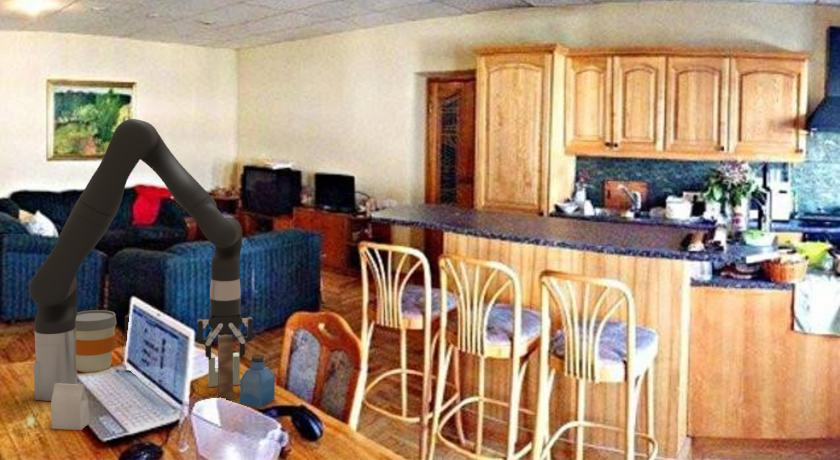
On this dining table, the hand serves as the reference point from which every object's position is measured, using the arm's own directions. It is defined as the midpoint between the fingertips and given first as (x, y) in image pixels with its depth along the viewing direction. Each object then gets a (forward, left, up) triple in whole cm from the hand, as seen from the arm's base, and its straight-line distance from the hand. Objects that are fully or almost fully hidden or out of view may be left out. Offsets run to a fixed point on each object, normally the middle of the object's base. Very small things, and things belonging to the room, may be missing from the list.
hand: (225, 357), depth 187 cm
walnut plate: (0, 0, -10) cm, 10 cm away
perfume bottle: (+8, -7, -10) cm, 14 cm away
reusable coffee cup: (-35, +29, -10) cm, 47 cm away
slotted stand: (0, +8, -10) cm, 13 cm away
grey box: (-35, -13, -10) cm, 39 cm away
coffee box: (-21, +24, -10) cm, 33 cm away
